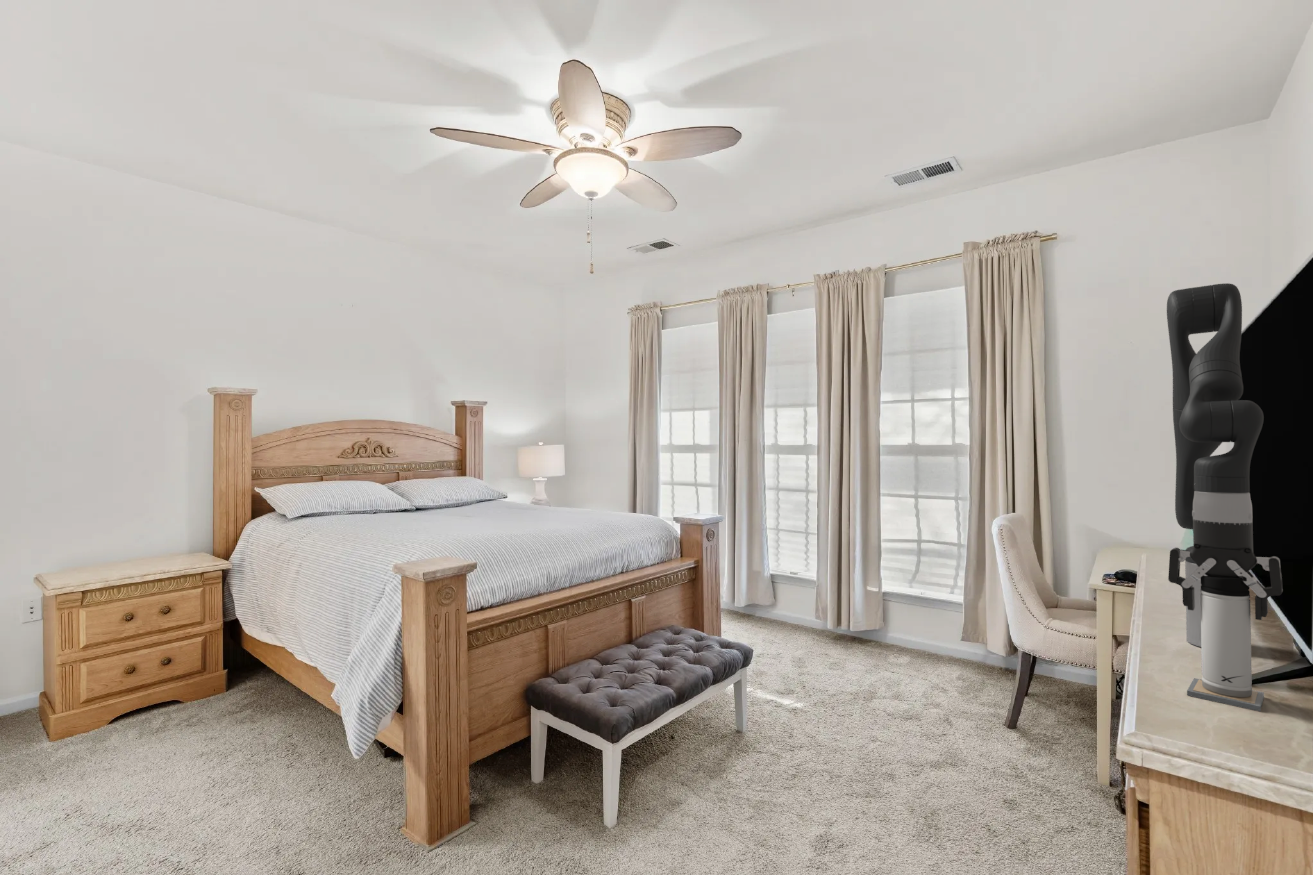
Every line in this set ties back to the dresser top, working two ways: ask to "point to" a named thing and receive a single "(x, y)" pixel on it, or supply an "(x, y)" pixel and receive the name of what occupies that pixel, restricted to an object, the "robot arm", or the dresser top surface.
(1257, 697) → the slate coaster
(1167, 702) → the dresser top surface
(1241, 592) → the travel mug
